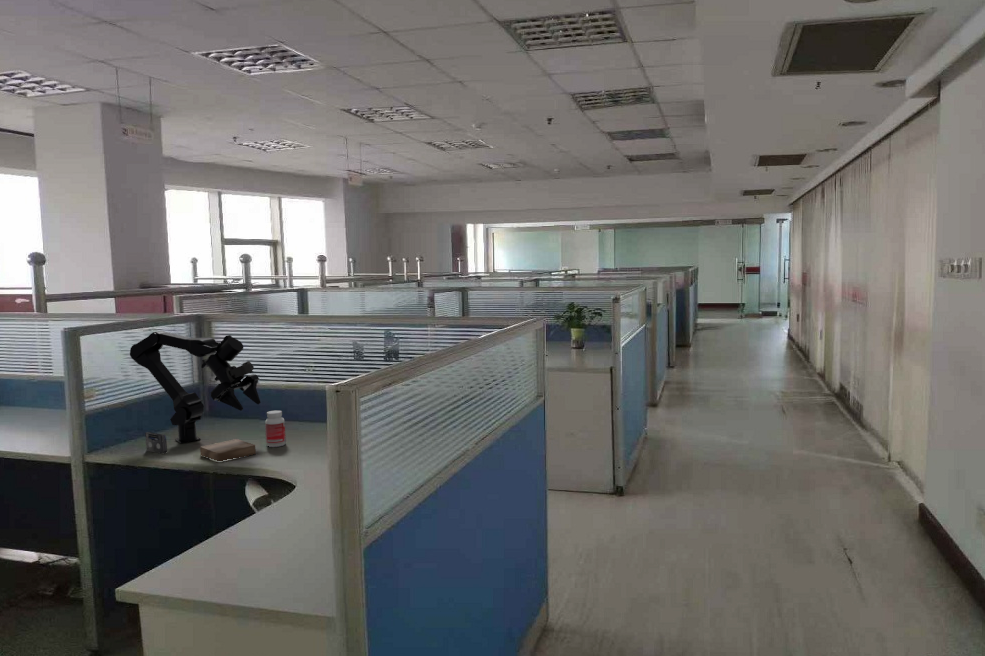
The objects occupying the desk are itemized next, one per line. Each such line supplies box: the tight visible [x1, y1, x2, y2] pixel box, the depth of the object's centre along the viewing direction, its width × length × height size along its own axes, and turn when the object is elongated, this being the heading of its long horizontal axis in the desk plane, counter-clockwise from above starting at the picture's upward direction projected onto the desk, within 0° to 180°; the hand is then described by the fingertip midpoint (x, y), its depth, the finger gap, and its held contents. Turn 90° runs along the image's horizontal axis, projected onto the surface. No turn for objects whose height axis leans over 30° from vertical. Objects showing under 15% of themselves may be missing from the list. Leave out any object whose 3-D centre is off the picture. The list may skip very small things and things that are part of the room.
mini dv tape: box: [144, 431, 168, 454], centre depth 233 cm, size 8×2×6 cm, turn 61°
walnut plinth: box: [199, 438, 257, 461], centre depth 227 cm, size 12×12×3 cm
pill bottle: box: [264, 410, 287, 448], centre depth 237 cm, size 6×6×11 cm
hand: (250, 406), depth 237 cm, fingers open, 9 cm apart
